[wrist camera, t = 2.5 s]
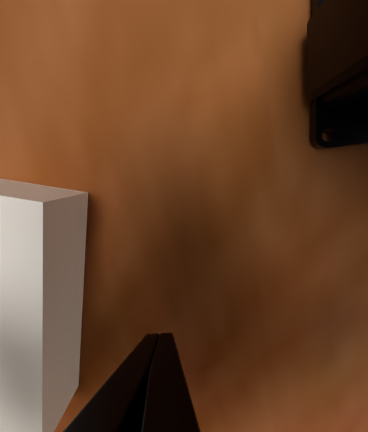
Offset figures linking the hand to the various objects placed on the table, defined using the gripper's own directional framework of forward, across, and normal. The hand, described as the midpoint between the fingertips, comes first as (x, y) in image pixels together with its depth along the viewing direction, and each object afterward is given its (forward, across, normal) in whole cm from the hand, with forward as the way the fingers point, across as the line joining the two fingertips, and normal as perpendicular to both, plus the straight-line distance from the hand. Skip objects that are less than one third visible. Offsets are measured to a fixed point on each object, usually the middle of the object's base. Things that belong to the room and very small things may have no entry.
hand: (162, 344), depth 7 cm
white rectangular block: (+4, +8, 0) cm, 9 cm away
